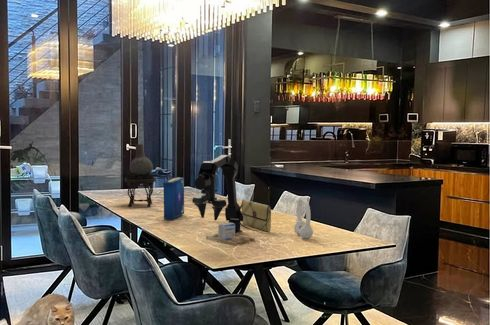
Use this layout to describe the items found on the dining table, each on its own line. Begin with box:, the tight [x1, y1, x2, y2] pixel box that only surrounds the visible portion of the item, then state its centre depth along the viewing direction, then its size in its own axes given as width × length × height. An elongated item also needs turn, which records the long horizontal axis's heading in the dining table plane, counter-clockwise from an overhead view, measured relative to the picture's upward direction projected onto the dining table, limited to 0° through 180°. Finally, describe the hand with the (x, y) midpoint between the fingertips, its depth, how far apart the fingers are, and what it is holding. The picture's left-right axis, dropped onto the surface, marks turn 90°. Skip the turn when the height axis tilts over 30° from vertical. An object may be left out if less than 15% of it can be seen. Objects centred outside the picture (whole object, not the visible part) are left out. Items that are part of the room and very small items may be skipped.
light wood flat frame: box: [205, 232, 256, 247], centre depth 241 cm, size 14×21×2 cm, turn 47°
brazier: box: [124, 143, 157, 208], centre depth 349 cm, size 22×22×45 cm
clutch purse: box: [239, 199, 272, 233], centre depth 272 cm, size 30×7×15 cm, turn 33°
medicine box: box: [218, 222, 236, 241], centre depth 242 cm, size 8×4×9 cm, turn 137°
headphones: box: [293, 198, 314, 240], centre depth 252 cm, size 7×18×20 cm, turn 9°
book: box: [162, 176, 185, 221], centre depth 303 cm, size 22×7×25 cm, turn 168°
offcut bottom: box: [231, 240, 250, 245], centre depth 236 cm, size 7×5×2 cm
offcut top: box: [231, 234, 250, 243], centre depth 236 cm, size 7×5×2 cm
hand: (209, 219), depth 231 cm, fingers open, 9 cm apart
